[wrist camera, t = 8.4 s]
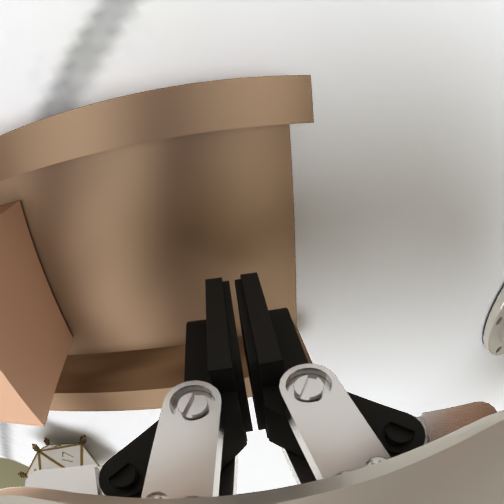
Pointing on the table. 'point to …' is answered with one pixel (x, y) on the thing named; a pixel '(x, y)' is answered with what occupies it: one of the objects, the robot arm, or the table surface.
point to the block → (27, 326)
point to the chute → (156, 223)
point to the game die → (60, 456)
